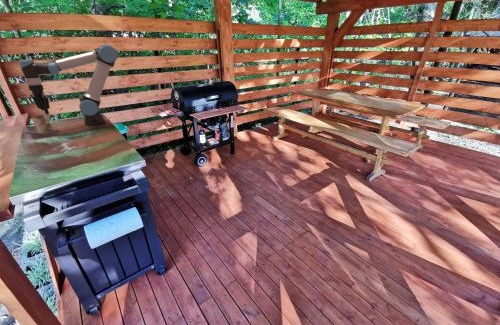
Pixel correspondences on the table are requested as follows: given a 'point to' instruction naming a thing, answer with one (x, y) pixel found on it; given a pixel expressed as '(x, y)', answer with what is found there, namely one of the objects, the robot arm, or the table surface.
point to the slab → (41, 123)
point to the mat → (41, 133)
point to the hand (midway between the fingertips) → (47, 118)
